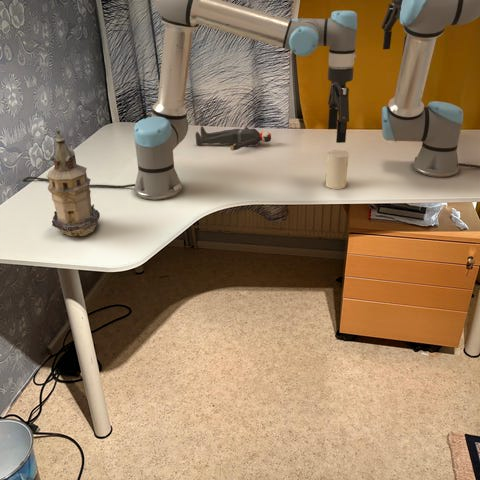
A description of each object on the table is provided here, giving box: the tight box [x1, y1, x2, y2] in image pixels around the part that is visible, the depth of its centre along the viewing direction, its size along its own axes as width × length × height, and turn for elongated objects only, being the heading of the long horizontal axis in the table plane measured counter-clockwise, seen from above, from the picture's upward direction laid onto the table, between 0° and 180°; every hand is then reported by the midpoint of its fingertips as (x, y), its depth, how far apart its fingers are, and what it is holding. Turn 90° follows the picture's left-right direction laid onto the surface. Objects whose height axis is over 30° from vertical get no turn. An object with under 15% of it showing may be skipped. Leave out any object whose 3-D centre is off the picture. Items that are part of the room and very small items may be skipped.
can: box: [325, 149, 350, 190], centre depth 178 cm, size 7×7×11 cm
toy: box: [195, 125, 272, 152], centre depth 216 cm, size 26×6×30 cm
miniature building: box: [46, 129, 101, 237], centre depth 148 cm, size 13×14×30 cm
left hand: (336, 135), depth 171 cm, fingers open, 13 cm apart
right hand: (395, 52), depth 204 cm, fingers open, 13 cm apart
